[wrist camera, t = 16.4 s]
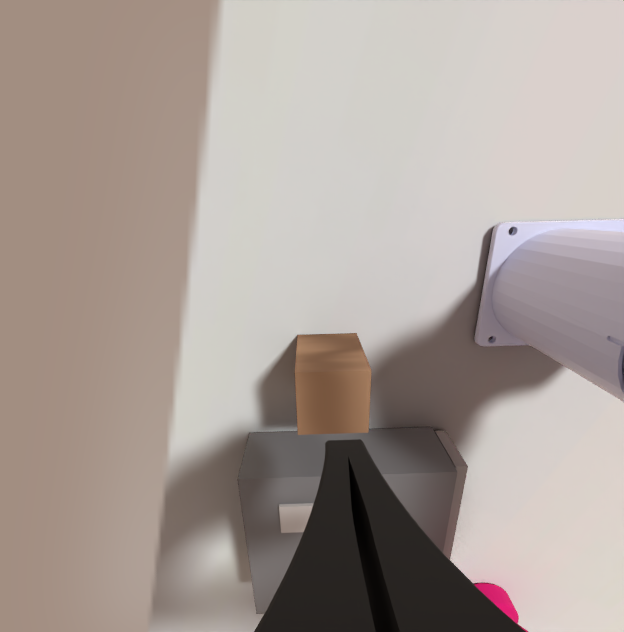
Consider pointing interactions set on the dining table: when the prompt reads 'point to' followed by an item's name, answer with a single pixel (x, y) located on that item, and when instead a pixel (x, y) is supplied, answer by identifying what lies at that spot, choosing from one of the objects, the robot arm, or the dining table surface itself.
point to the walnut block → (332, 384)
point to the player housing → (303, 482)
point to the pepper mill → (499, 599)
